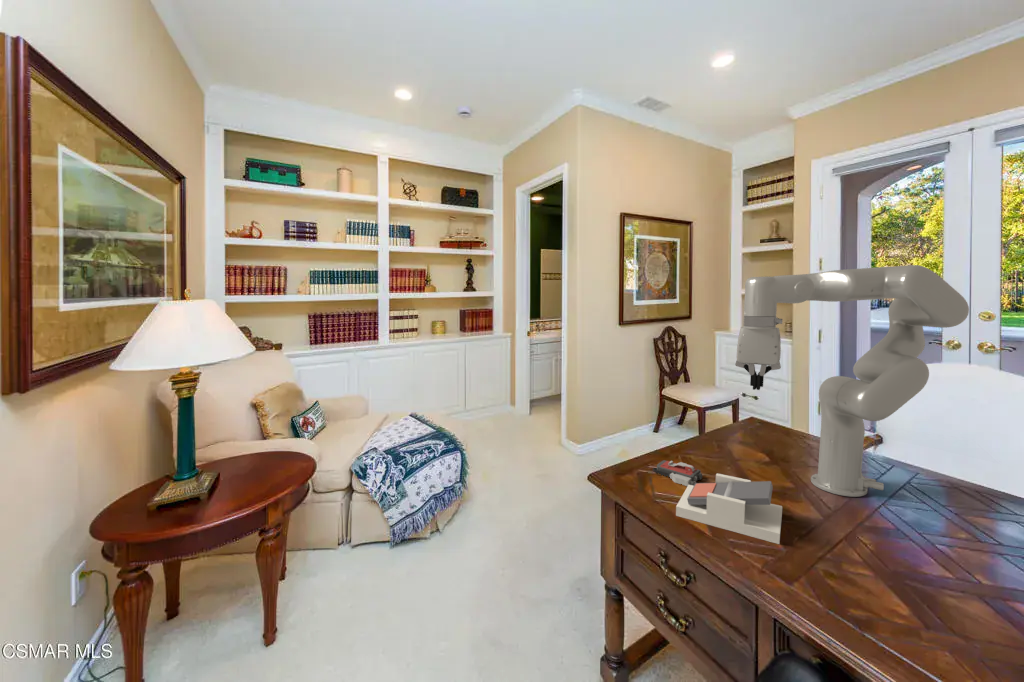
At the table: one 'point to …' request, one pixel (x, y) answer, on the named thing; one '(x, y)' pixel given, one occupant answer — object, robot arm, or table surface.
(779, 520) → the switch housing
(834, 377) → the robot arm
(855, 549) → the table surface
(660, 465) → the walkie-talkie
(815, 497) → the table surface
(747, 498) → the rocker
